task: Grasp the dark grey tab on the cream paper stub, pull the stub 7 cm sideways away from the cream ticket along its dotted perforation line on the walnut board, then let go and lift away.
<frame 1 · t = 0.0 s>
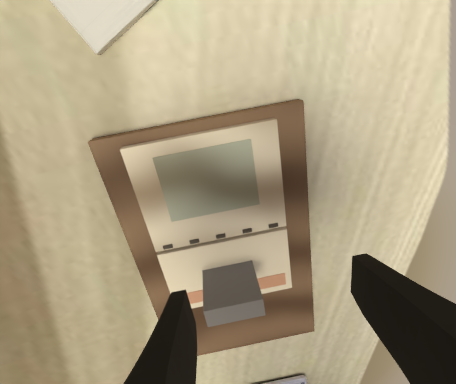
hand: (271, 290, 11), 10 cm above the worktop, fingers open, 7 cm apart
ticket board: (224, 249, 23), on the worktop
stub: (231, 289, 20), point 4 cm above the worktop, slide at 0.0 cm
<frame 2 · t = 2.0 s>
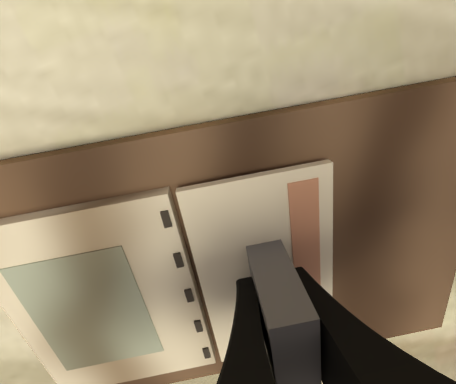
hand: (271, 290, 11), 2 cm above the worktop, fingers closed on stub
ticket board: (240, 259, 14), on the worktop
stub: (278, 311, 10), point 3 cm above the worktop, slide at 0.0 cm, touching gripper
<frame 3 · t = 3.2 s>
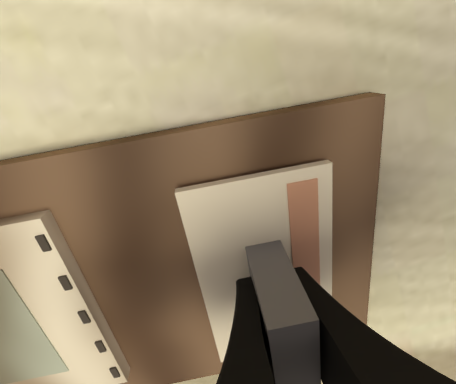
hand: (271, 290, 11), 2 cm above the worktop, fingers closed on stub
ticket board: (149, 277, 13), on the worktop
stub: (278, 311, 10), point 3 cm above the worktop, slide at 4.7 cm, touching gripper
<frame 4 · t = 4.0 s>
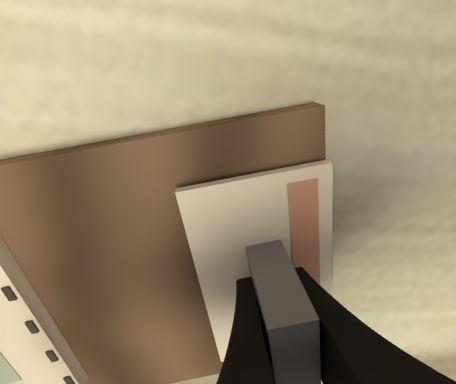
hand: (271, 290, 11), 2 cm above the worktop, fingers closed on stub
ticket board: (103, 286, 13), on the worktop
stub: (278, 311, 10), point 4 cm above the worktop, slide at 7.0 cm, touching gripper
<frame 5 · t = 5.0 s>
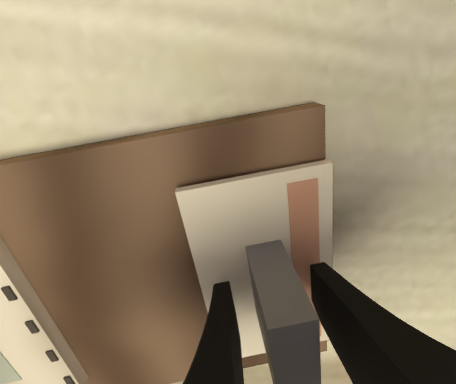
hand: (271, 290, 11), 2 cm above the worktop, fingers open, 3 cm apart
ticket board: (103, 286, 13), on the worktop
stub: (278, 311, 10), point 4 cm above the worktop, slide at 7.0 cm
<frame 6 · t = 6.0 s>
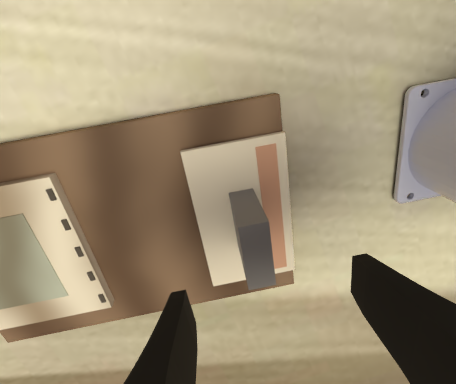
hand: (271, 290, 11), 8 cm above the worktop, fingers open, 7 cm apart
ticket board: (127, 228, 18), on the worktop
stub: (250, 234, 16), point 4 cm above the worktop, slide at 7.0 cm
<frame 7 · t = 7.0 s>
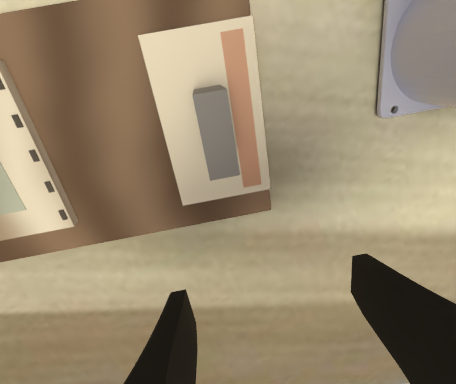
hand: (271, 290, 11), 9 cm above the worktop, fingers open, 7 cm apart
ticket board: (89, 140, 17), on the worktop
stub: (215, 128, 14), point 3 cm above the worktop, slide at 7.0 cm
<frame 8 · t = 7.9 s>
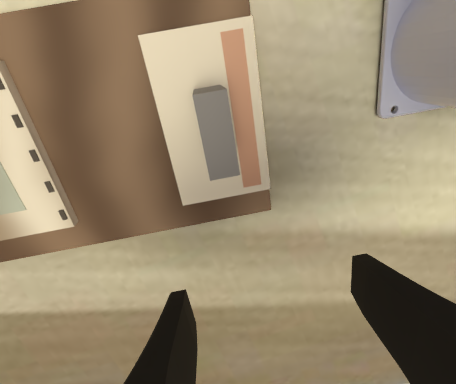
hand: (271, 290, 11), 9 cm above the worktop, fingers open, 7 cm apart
ticket board: (89, 140, 17), on the worktop
stub: (215, 128, 14), point 4 cm above the worktop, slide at 7.0 cm
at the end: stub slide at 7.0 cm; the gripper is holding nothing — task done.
